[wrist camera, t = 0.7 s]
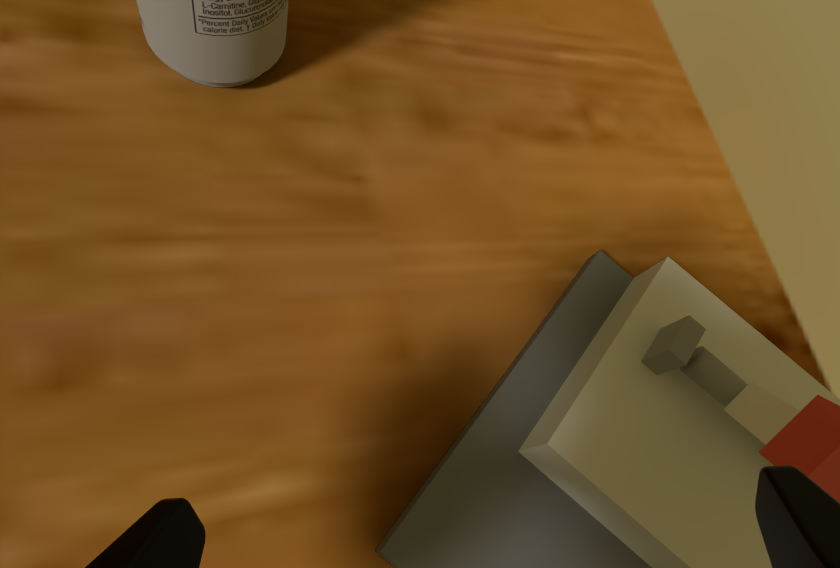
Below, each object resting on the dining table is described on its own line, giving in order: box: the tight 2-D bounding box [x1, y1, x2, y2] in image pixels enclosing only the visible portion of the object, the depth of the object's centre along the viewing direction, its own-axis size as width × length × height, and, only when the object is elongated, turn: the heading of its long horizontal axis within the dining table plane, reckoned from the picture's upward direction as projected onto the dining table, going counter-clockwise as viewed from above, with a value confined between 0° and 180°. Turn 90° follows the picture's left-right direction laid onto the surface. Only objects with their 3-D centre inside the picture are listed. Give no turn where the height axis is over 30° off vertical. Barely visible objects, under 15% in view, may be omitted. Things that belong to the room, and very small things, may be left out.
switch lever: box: [680, 346, 840, 503], centre depth 18 cm, size 2×5×10 cm
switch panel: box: [375, 250, 840, 568], centre depth 22 cm, size 16×12×5 cm
